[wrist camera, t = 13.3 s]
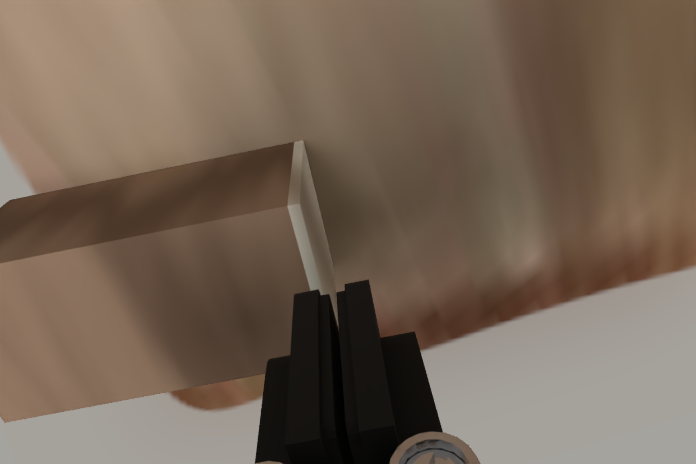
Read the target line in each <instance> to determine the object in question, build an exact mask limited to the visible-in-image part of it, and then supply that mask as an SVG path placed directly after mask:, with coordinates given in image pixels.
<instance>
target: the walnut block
mask: <svg viewBox="0 0 696 464" xmlns="http://www.w3.org/2000/svg"><path fill="white" fill-rule="evenodd" d="M317 289H319V291H320V294H321V295H326V294H329V295H330V298H331V302H332V306H333V310H334V314H335V318H336V322H337V326H338V321H337V307H336V292H335V278H334V266H333V262H332V258H331V254H330V250H329V245H328V241H327V237H326V233H325V229H324V225H323V221H322V216H321V212H320V208H319V204H318V200H317V196H316V191H315V187H314V183H313V179H312V175H311V171H310V166H309V162H308V158H307V154H306V150H305V146H304V141H303V140H302V141H297V142H293V143H288V144H283V145H278V146H273V147H268V148H263V149H258V150H253V151H248V152H244V153H239V154H234V155H229V156H224V157H219V158H214V159H209V160H204V161H199V162H195V163H190V164H185V165H180V166H175V167H170V168H165V169H160V170H155V171H151V172H146V173H141V174H136V175H131V176H126V177H121V178H116V179H111V180H106V181H102V182H97V183H92V184H87V185H82V186H77V187H72V188H67V189H62V190H57V191H53V192H48V193H43V194H38V195H32V196H27V197H23V198H18V199H13V200H10V201H8V202H7V203H6V204H5V205H3V206H2V207H1V208H0V417H1V418H2V419H3V421H4V422H5V423H6V422H11V421H16V420H22V419H27V418H32V417H37V416H43V415H48V414H53V413H59V412H64V411H69V410H75V409H80V408H85V407H91V406H96V405H101V404H106V403H112V402H117V401H122V400H128V399H133V398H138V397H144V396H149V395H154V394H160V393H165V392H170V391H176V390H181V389H186V388H191V387H197V386H202V385H207V384H213V383H218V382H223V381H229V380H234V379H239V378H244V377H250V376H255V375H260V374H266V366H267V362H268V360H269V359H272V358H277V357H282V356H288V355H290V350H291V334H292V317H293V300H294V294H296V293H302V292H307V291H312V290H317Z"/></svg>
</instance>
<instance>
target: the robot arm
mask: <svg viewBox="0 0 696 464" xmlns="http://www.w3.org/2000/svg"><path fill="white" fill-rule="evenodd" d="M336 296H337V310H338V324H339V330H338V326H337V322H336V318H335V314H334V310H333V306H332V302H331V298H330V295H329V294H326V295H321V294H320V291H319V289H317V290H312V291H307V292H302V293H296V294H294V300H293V317H292V334H291V350H290V355H288V356H282V357H277V358H272V359H269V360H268V362H267V366H266V374H265V383H264V391H263V400H262V408H261V417H260V425H259V435H258V443H257V451H256V459H255V464H480V462H479V460H478V458H477V456H476V455H475V454H474V452H473V451H472V449H471V448H470V447H469V446H468V445H467V444H466V443H465V442H463V441H462V440H460V439H459V438H458V437H455V436H453V435H450V434H447V433H443V431H442V428H441V424H440V421H439V417H438V413H437V410H436V407H435V403H434V399H433V395H432V392H431V388H430V385H429V381H428V378H427V374H426V370H425V367H424V363H423V359H422V356H421V352H420V349H419V345H418V342H417V338H416V335H415V332H410V333H405V334H399V335H394V336H389V337H383V338H380V334H379V329H378V324H377V319H376V314H375V309H374V304H373V299H372V294H371V289H370V284H369V280H364V281H359V282H354V283H348V284H345V291H341V292H337V293H336Z"/></svg>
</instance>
